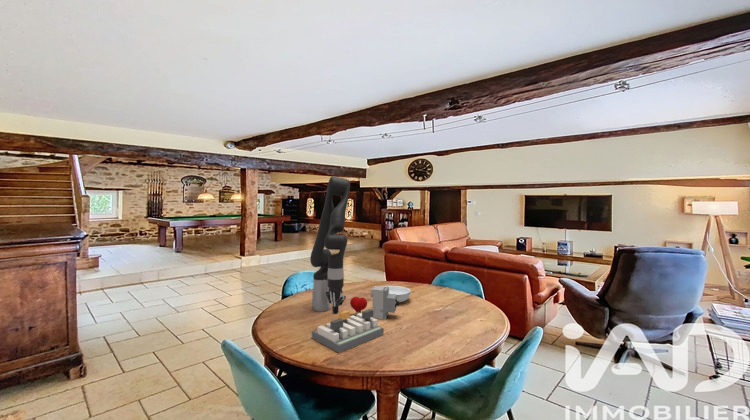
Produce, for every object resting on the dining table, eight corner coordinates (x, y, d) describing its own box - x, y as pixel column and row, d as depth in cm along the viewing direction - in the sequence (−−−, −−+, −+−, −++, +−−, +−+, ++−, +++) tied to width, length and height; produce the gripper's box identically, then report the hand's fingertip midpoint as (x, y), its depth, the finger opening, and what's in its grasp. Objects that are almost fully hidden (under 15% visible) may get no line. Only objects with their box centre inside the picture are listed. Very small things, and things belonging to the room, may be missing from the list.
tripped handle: (338, 327, 147) (338, 312, 147) (346, 324, 151) (346, 309, 150) (341, 329, 145) (341, 313, 145) (349, 326, 149) (350, 311, 149)
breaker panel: (311, 338, 144) (312, 315, 143) (356, 322, 162) (356, 302, 161) (338, 353, 130) (339, 327, 130) (383, 334, 148) (383, 312, 148)
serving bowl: (416, 299, 201) (416, 288, 201) (400, 308, 183) (400, 296, 183) (387, 293, 212) (387, 283, 212) (369, 302, 195) (369, 290, 194)
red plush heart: (369, 315, 173) (369, 296, 172) (364, 319, 166) (364, 300, 166) (352, 312, 176) (353, 294, 175) (347, 317, 169) (347, 298, 169)
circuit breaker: (397, 320, 166) (398, 291, 165) (370, 318, 169) (370, 289, 168) (399, 315, 173) (400, 287, 173) (373, 313, 176) (373, 285, 175)
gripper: (350, 278, 150) (350, 315, 151) (333, 273, 159) (333, 308, 160) (338, 281, 145) (337, 319, 145) (320, 275, 154) (320, 311, 155)
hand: (335, 313), depth 153 cm, fingers closed
